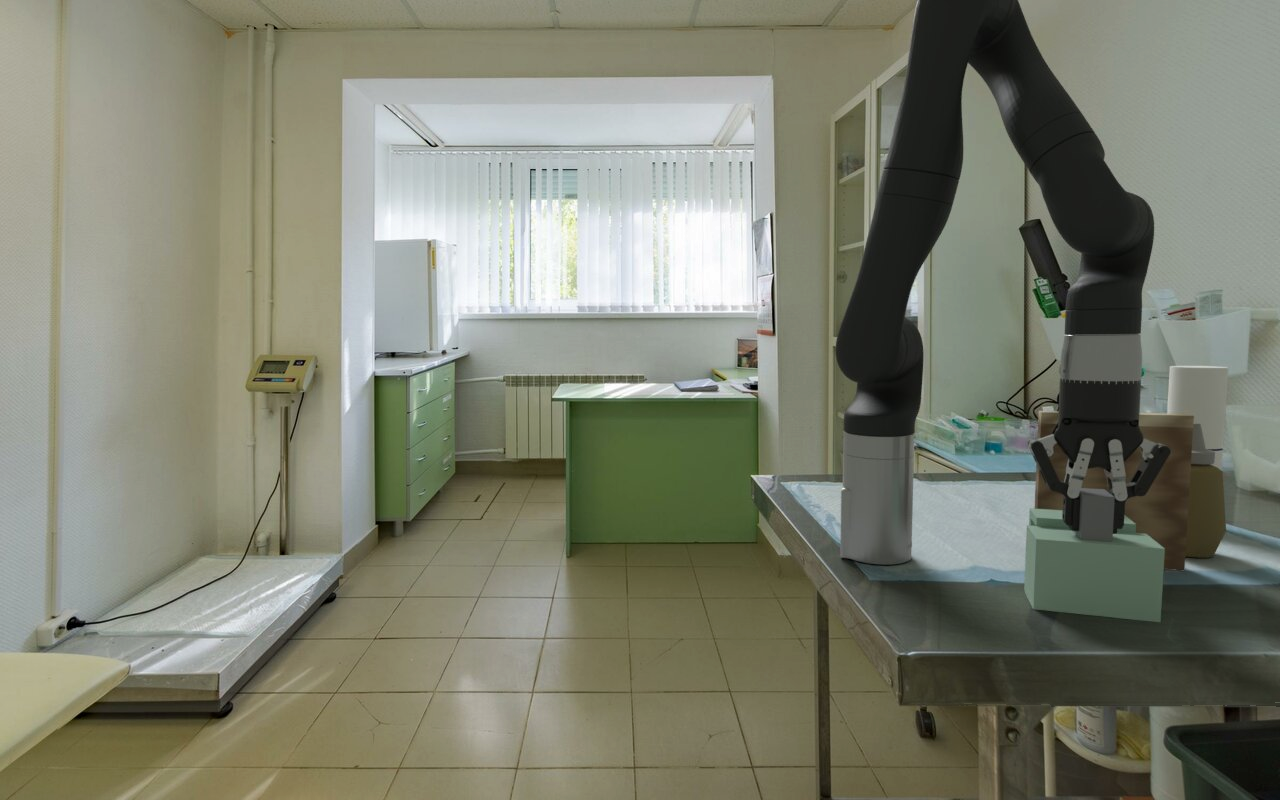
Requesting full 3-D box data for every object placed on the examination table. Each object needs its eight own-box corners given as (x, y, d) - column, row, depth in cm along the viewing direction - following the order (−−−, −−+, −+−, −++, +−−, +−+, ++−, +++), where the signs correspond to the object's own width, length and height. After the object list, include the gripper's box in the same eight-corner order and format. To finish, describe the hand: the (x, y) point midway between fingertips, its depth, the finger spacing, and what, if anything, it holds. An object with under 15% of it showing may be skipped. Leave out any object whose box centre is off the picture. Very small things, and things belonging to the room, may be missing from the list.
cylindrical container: (1228, 533, 109) (1239, 368, 107) (1175, 531, 110) (1184, 368, 108) (1201, 521, 116) (1211, 365, 114) (1152, 519, 117) (1160, 365, 115)
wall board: (1035, 558, 98) (1041, 412, 96) (1026, 544, 105) (1031, 406, 103) (1184, 570, 93) (1193, 415, 91) (1165, 554, 99) (1173, 410, 97)
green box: (1033, 609, 80) (1038, 494, 79) (1017, 578, 90) (1021, 476, 89) (1160, 622, 76) (1167, 501, 75) (1129, 588, 87) (1135, 481, 85)
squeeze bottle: (1220, 549, 101) (1228, 422, 100) (1228, 565, 94) (1238, 428, 93) (1150, 541, 106) (1156, 418, 104) (1153, 555, 99) (1160, 425, 97)
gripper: (1033, 377, 78) (1027, 534, 79) (1189, 379, 73) (1179, 545, 75) (1021, 373, 85) (1016, 517, 86) (1163, 374, 80) (1155, 527, 82)
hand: (1092, 529), depth 80 cm, fingers closed on green box, 3 cm apart
